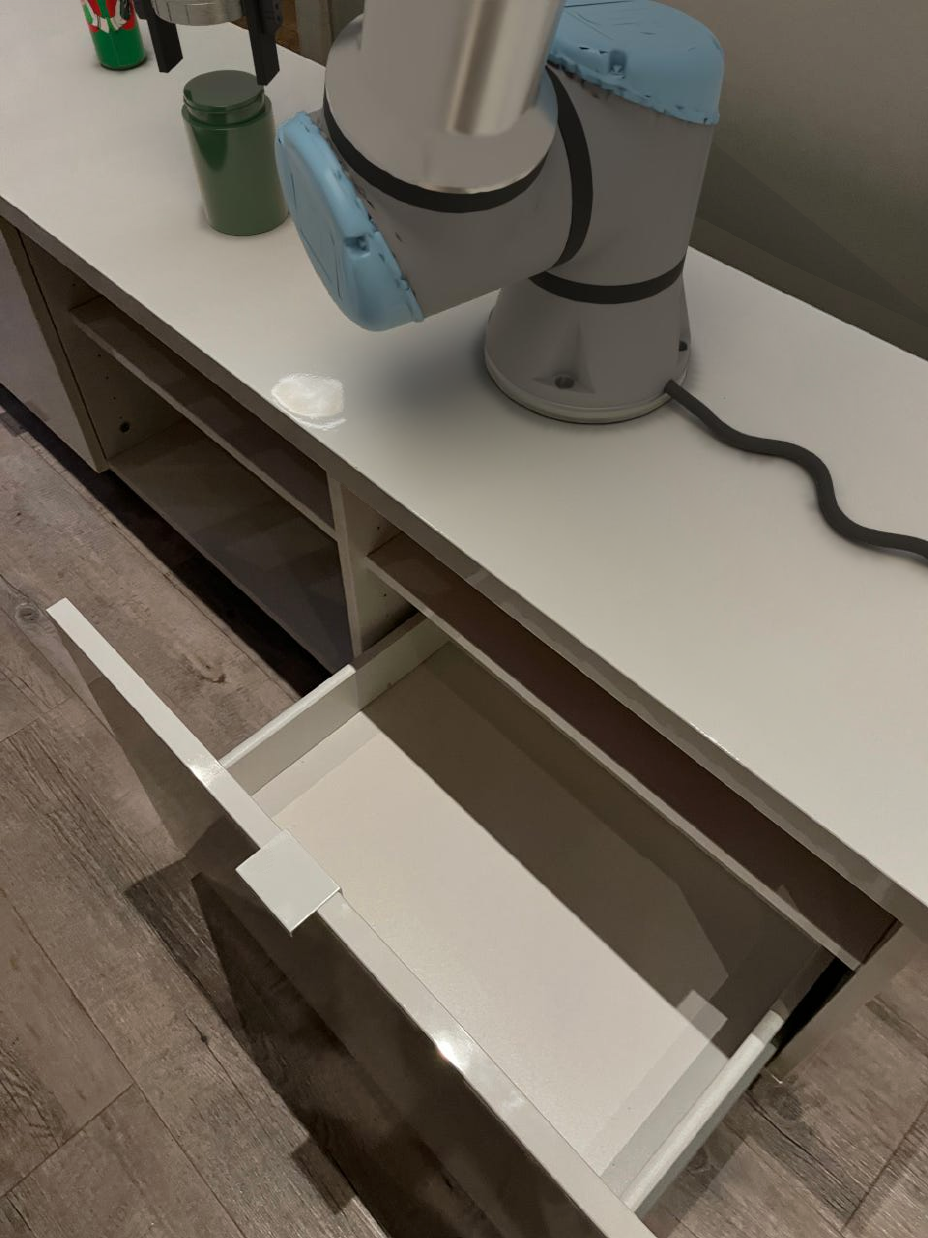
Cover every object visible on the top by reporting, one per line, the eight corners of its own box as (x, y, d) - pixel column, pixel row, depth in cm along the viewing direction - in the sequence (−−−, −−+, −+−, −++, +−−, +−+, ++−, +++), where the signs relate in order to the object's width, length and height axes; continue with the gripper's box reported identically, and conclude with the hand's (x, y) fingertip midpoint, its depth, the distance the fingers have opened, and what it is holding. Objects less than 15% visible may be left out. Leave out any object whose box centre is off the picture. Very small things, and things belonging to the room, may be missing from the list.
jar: (300, 223, 80) (280, 97, 72) (220, 243, 78) (190, 116, 70) (273, 183, 84) (252, 59, 76) (196, 202, 82) (165, 77, 74)
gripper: (-58, -349, 53) (77, 76, 71) (274, -330, 50) (326, 109, 68) (13, -371, 57) (123, 36, 75) (323, -355, 54) (359, 65, 72)
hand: (219, 70), depth 72 cm, fingers closed on lid, 7 cm apart
